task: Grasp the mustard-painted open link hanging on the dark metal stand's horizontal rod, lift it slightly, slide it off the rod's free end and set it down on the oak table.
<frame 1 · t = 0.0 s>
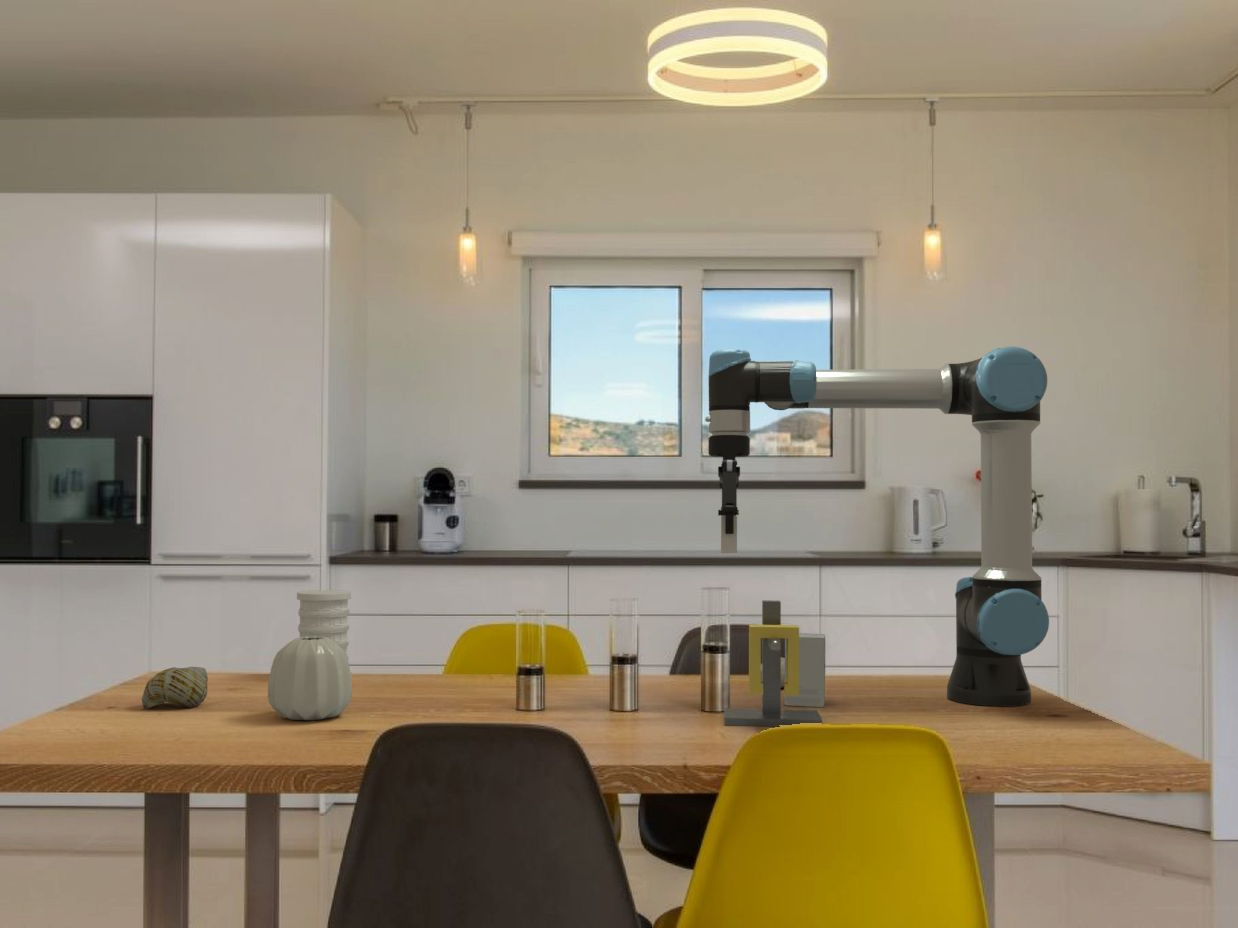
hand: (728, 551, 207), 28 cm above the table, fingers open, 13 cm apart
supplement box: (805, 704, 210), on the table
stand: (771, 718, 194), on the table
seashell: (176, 707, 202), on the table
decorative container: (322, 680, 234), on the table
stone: (781, 687, 231), on the table
c link: (773, 693, 187), point 6 cm above the table, touching stand
vase: (310, 718, 193), on the table
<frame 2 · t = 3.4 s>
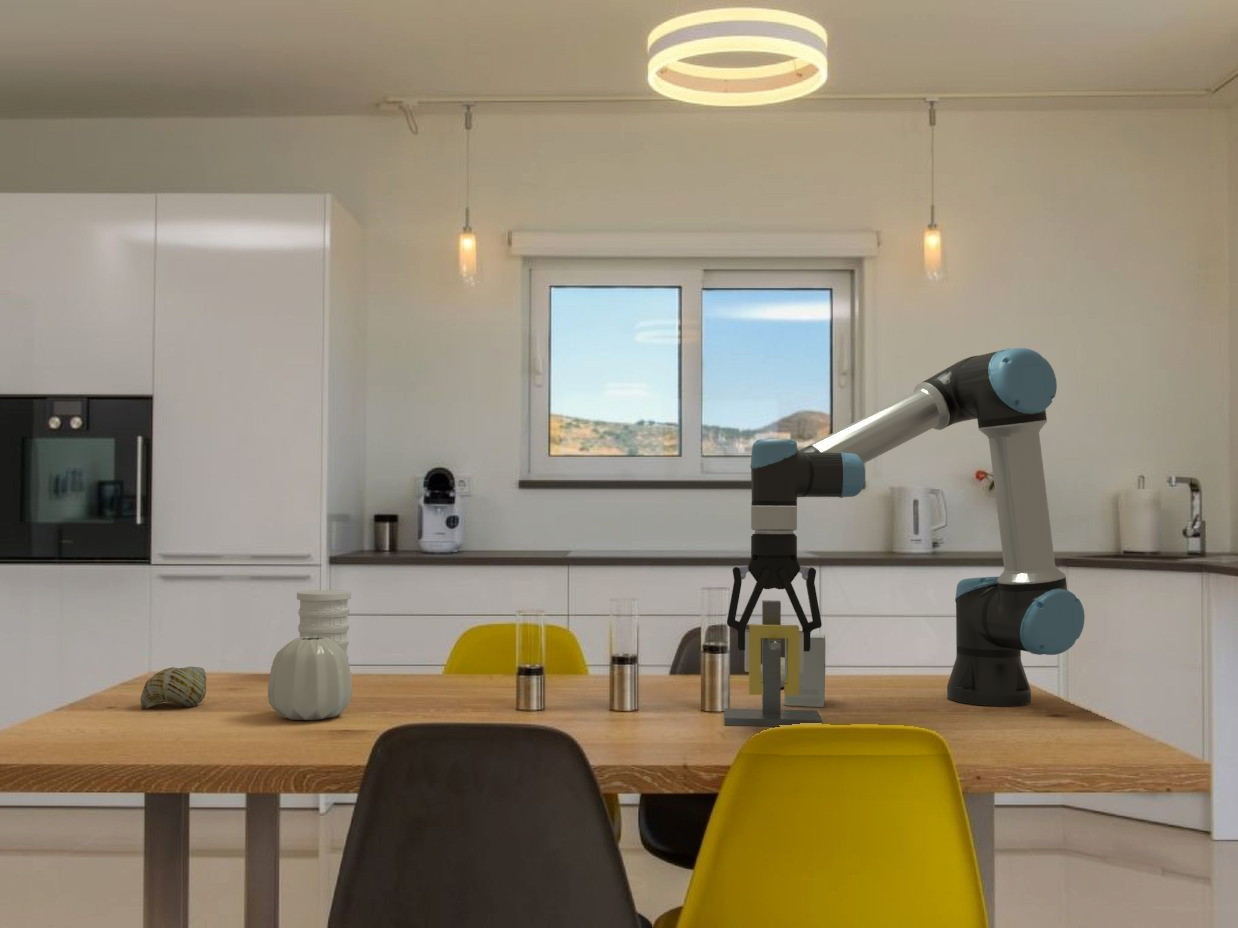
hand: (773, 670, 187), 9 cm above the table, fingers closed on c link, 8 cm apart
c link: (773, 693, 187), point 6 cm above the table, touching gripper, stand
everything else where it was.
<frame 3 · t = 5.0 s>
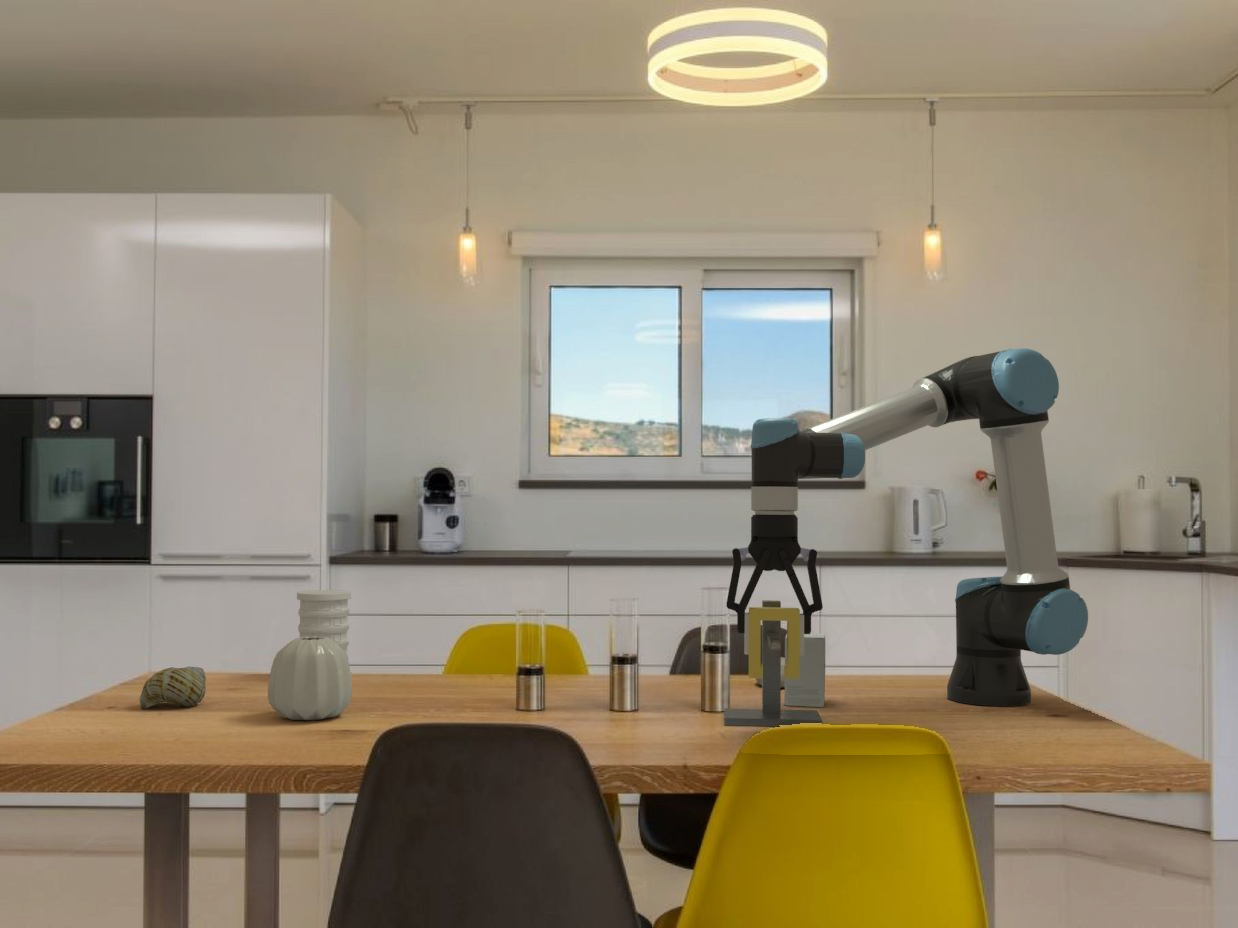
hand: (773, 653, 184), 12 cm above the table, fingers closed on c link, 8 cm apart
c link: (773, 676, 184), point 9 cm above the table, touching gripper
everything else where it was.
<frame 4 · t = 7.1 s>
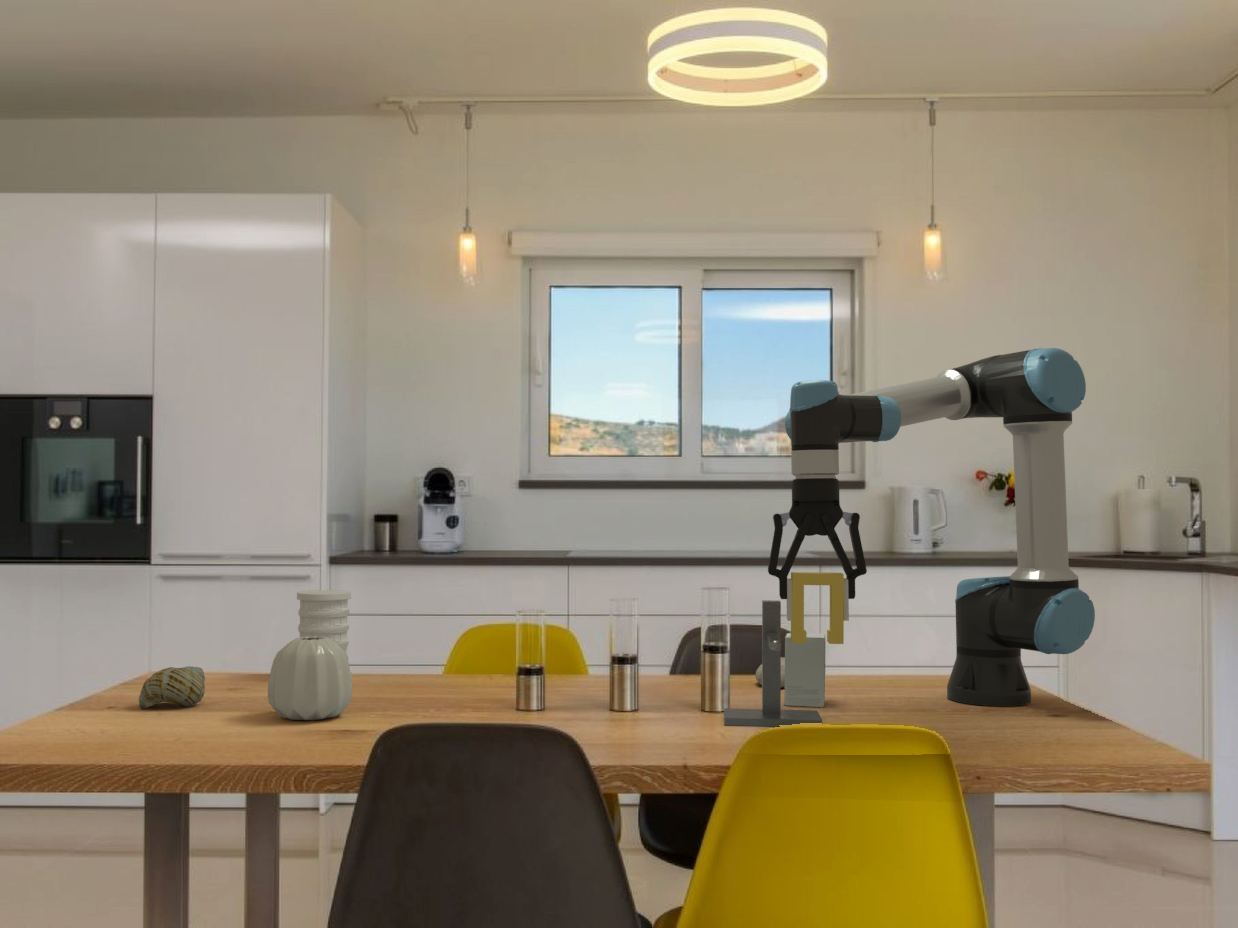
hand: (817, 619, 181), 18 cm above the table, fingers closed on c link, 8 cm apart
c link: (816, 642, 181), point 15 cm above the table, touching gripper
everything else where it was.
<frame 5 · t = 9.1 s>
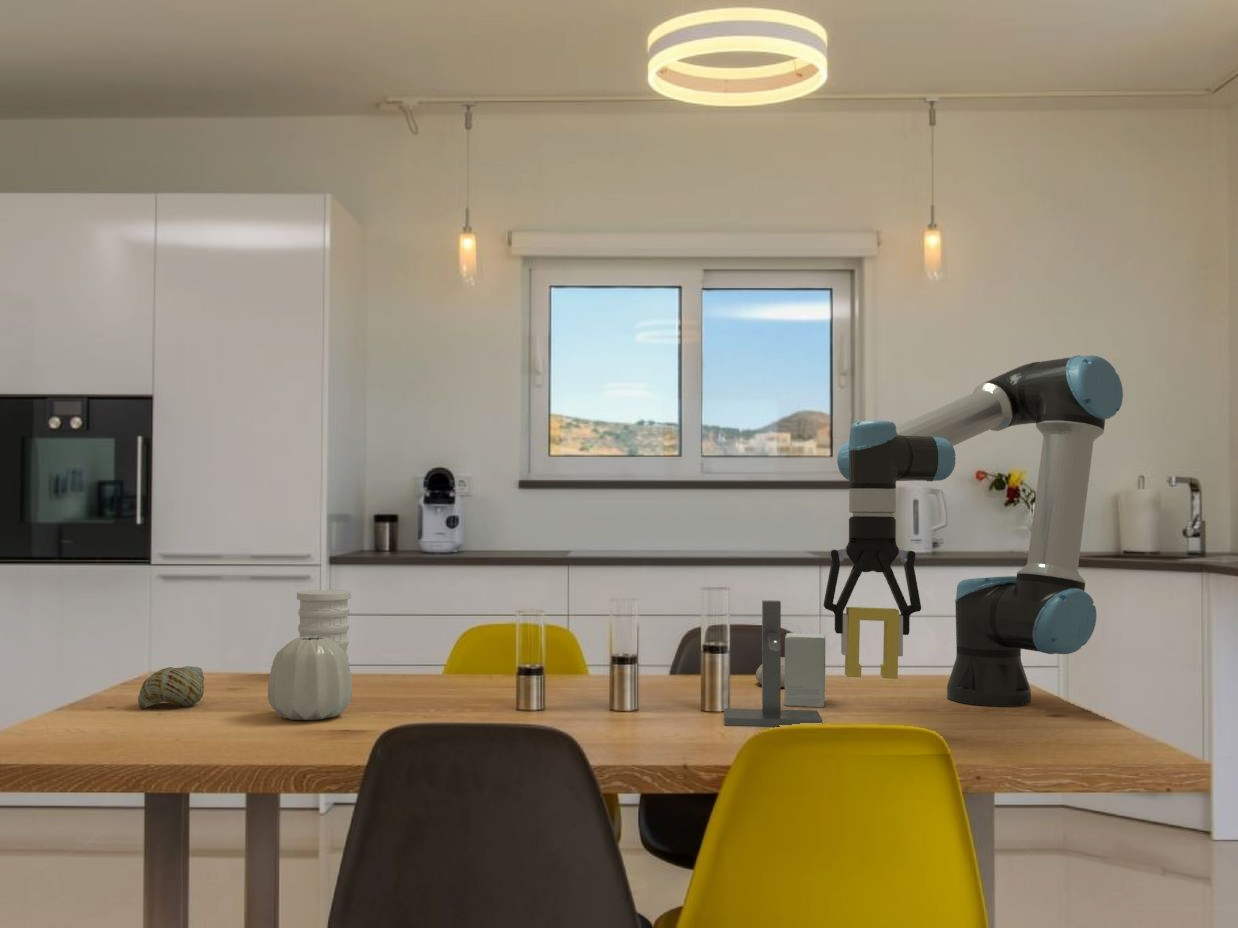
hand: (871, 654, 185), 12 cm above the table, fingers closed on c link, 8 cm apart
c link: (870, 676, 185), point 9 cm above the table, touching gripper
everything else where it was.
when the fingers open (5 cm above the table, at t = 10.8 s): c link drops 1 cm, on the table.
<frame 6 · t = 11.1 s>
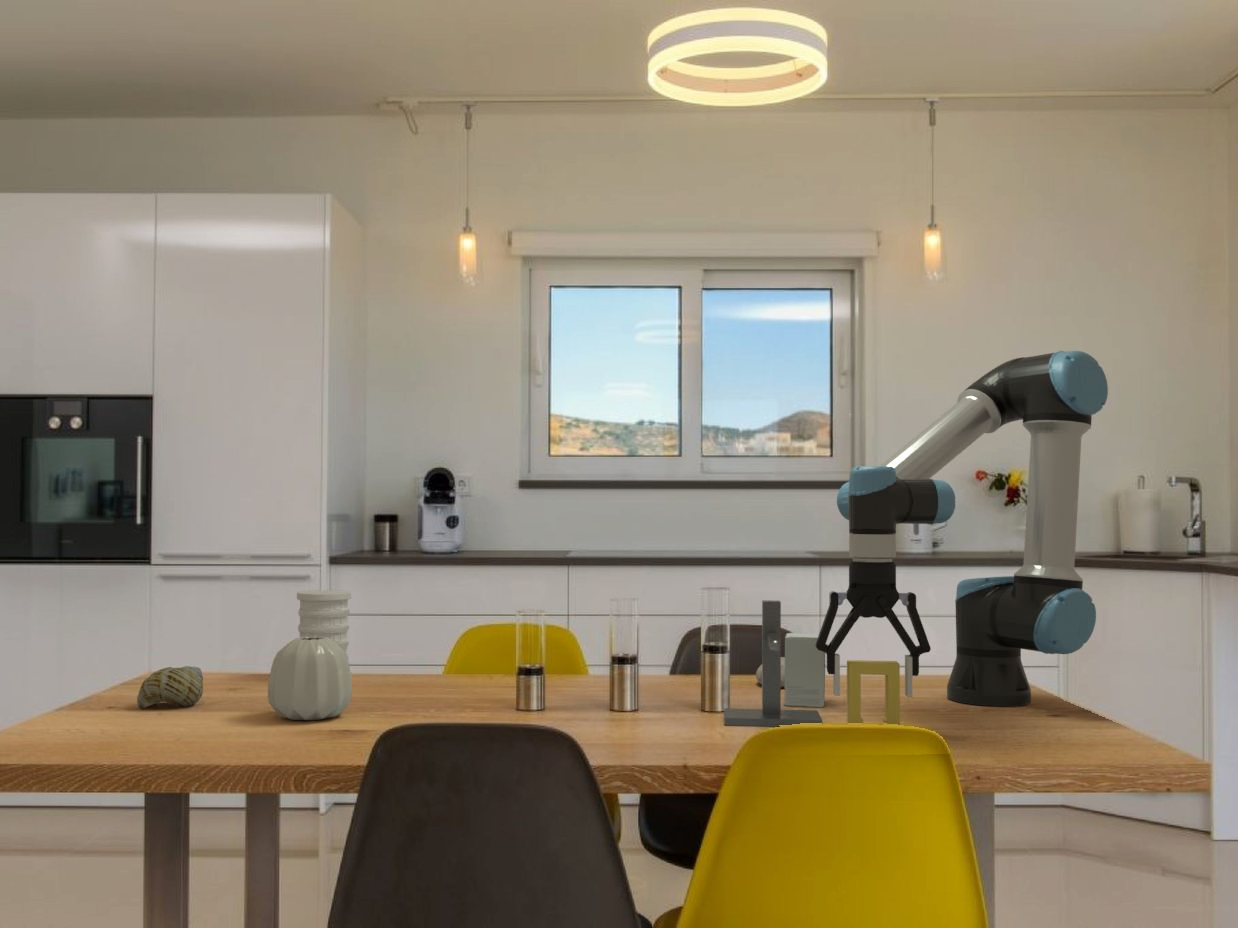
hand: (872, 695, 185), 6 cm above the table, fingers open, 11 cm apart
c link: (873, 729, 185), on the table
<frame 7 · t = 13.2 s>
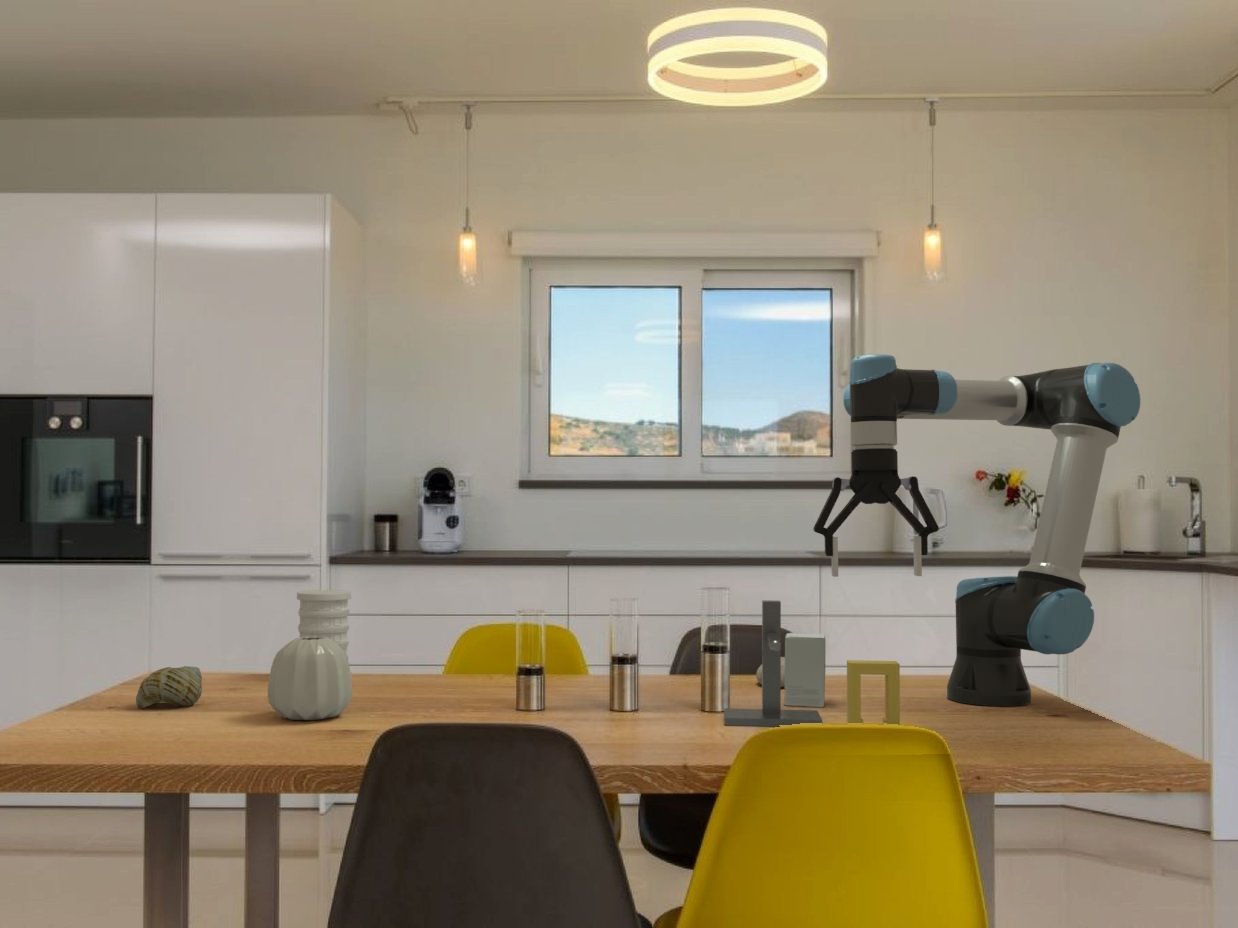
hand: (876, 576, 189), 25 cm above the table, fingers open, 13 cm apart
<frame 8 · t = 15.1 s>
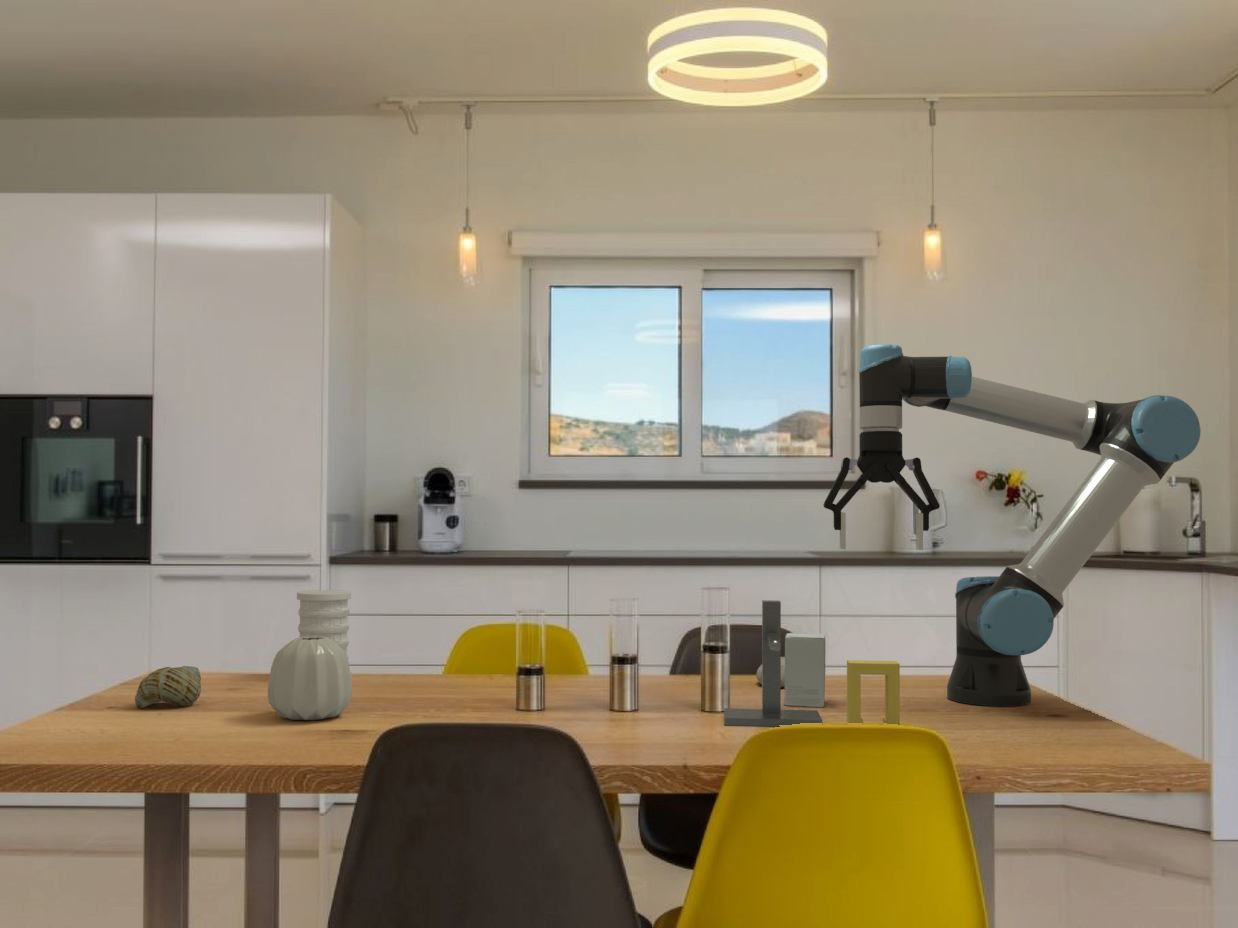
hand: (881, 549, 204), 29 cm above the table, fingers open, 13 cm apart
at the end: c link inside the target area (1.0 cm from its centre), on the table; c link touching table; the gripper is holding nothing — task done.
